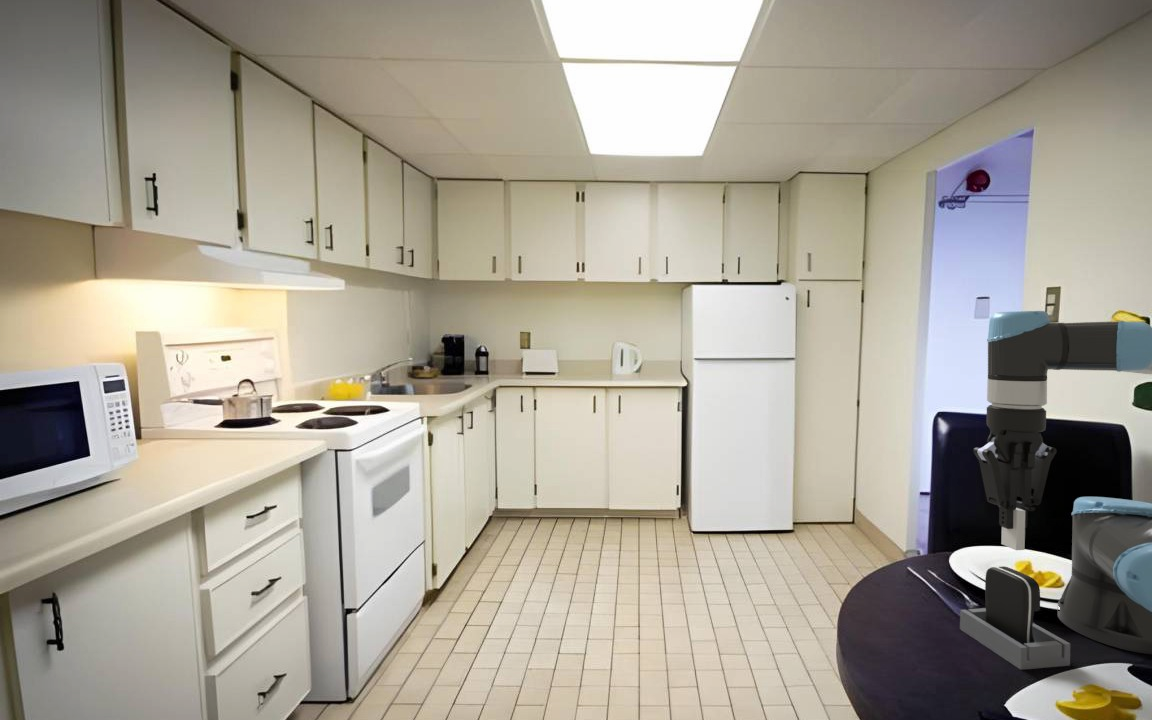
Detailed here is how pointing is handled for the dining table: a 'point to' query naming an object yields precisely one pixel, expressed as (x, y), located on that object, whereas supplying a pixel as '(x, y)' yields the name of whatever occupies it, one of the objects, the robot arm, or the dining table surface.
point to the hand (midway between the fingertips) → (1012, 546)
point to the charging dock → (1016, 643)
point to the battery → (1011, 602)
